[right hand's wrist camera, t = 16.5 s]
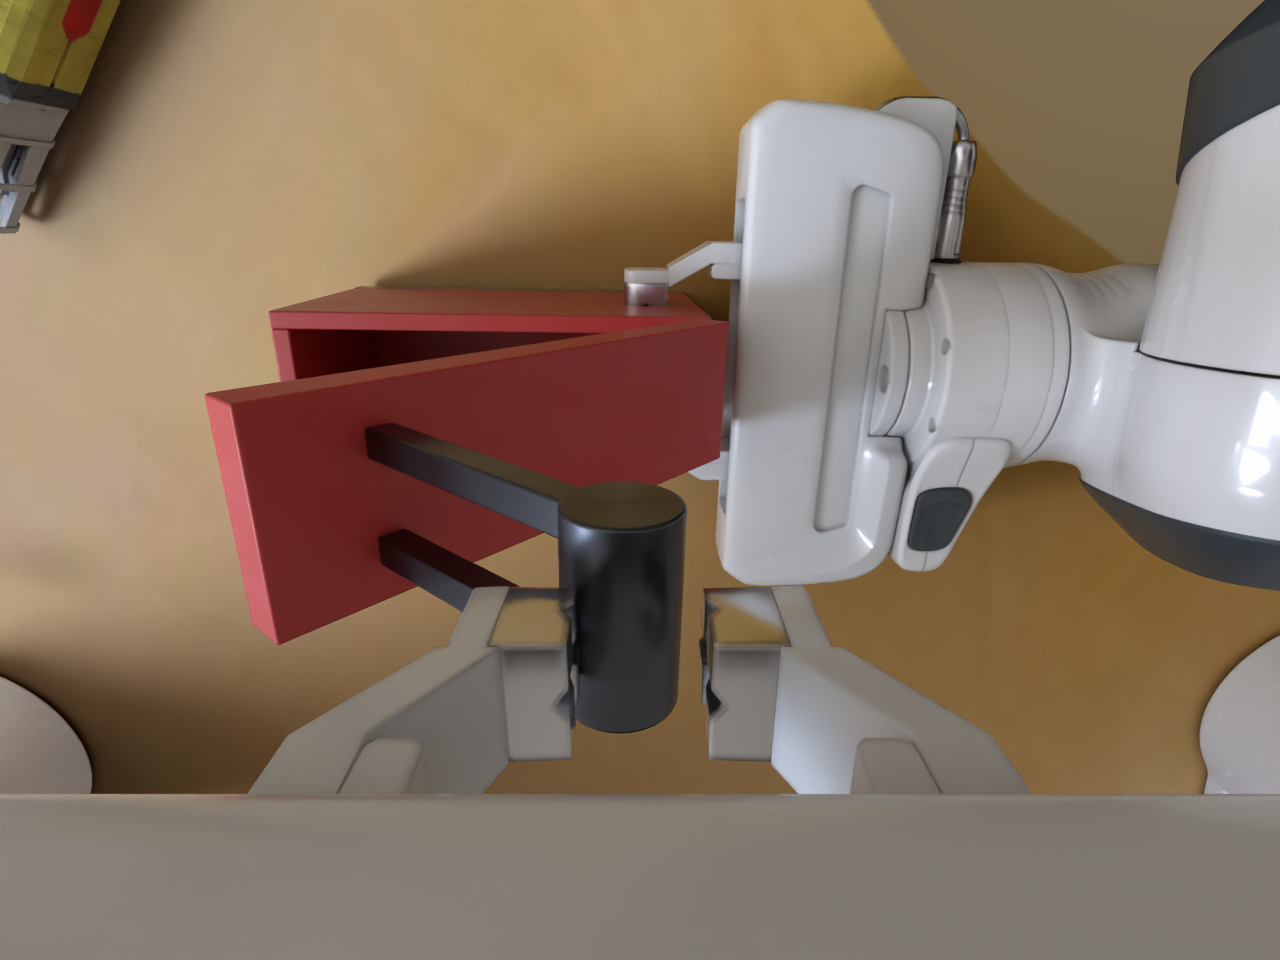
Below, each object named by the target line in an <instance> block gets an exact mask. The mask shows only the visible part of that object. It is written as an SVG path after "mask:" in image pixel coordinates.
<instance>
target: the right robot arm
mask: <svg viewBox="0 0 1280 960" xmlns="http://www.w3.org/2000/svg"><path fill="white" fill-rule="evenodd" d="M700 617H701V624H702V631H703V636H702V638H701V639H700V640H699V684H700V695H701V704H702V705H704V706H705V717H704V727H705V735H706V742H707V749H708V756H709V760H735V761H771V765H772V766H773V767H774V768H775V769H776V770H777V771H778V773H779V774H780V775H781V776H782V777H783V778H784V779H785V780H786V781H787V782H788V783H789V784H790V786H791V787H792V788H793V789H794V790H795V791H796V792H797V793H798V794H482V793H483V792H484V791H485V790H486V789H487V788H488V787H489V786H490V785H491V784H492V782H493V781H494V780H495V779H496V778H497V777H498V776H499V775H500V774H501V773H502V772H503V771H504V770H505V768H506V767H507V766H508V765H509V761H543V760H571V755H572V748H573V741H574V733H575V726H576V723H575V706H576V705H577V704H578V702H579V693H580V679H581V663H580V644H579V643H578V641H577V639H576V637H577V630H578V623H579V608H578V589H577V588H545V587H511V588H510V587H509V586H495V587H477V588H475V589H474V590H473V592H472V594H471V596H470V598H469V600H468V602H467V605H466V607H465V609H464V611H463V613H462V616H461V618H460V620H459V622H458V624H457V626H456V629H455V631H454V633H453V635H452V637H451V640H450V642H449V644H448V646H447V647H436V648H435V649H433V650H431V651H430V652H428V653H426V654H424V655H423V656H421V657H419V658H418V659H416V660H414V661H413V662H411V663H409V664H408V665H406V666H404V667H402V668H401V669H399V670H397V671H396V672H394V673H392V674H391V675H389V676H387V677H386V678H384V679H382V680H380V681H379V682H377V683H375V684H374V685H372V686H370V687H369V688H367V689H365V690H364V691H362V692H360V693H358V694H357V695H355V696H353V697H352V698H350V699H348V700H347V701H345V702H343V703H342V704H340V705H338V706H336V707H335V708H333V709H331V710H330V711H328V712H326V713H325V714H323V715H321V716H319V717H318V718H316V719H314V720H313V721H311V722H309V723H308V724H306V725H304V726H303V727H301V728H299V729H297V730H296V731H294V732H292V733H291V734H289V735H288V736H287V737H286V739H285V740H284V741H283V743H282V744H281V746H280V747H279V749H278V750H277V752H276V753H275V754H274V756H273V757H272V759H271V760H270V762H269V763H268V765H267V766H266V767H265V769H264V770H263V772H262V773H261V775H260V776H259V778H258V779H257V780H256V782H255V783H254V785H253V786H252V788H251V789H250V791H249V792H248V793H247V794H91V789H92V771H91V765H90V761H89V759H88V756H87V753H86V751H85V749H84V747H83V745H82V743H81V741H80V740H79V738H78V737H77V735H76V734H75V732H74V731H73V730H72V728H71V727H70V726H69V725H68V723H67V722H66V721H65V720H64V719H63V718H62V717H61V716H60V715H59V714H58V713H57V712H56V711H55V710H54V709H52V708H51V707H50V706H49V705H48V704H46V703H45V702H44V701H43V700H41V699H40V698H38V697H37V696H36V695H34V694H33V693H31V692H29V691H28V690H26V689H24V688H23V687H21V686H19V685H17V684H15V683H13V682H11V681H9V680H7V679H5V678H3V677H0V960H1280V794H1032V792H1031V791H1030V789H1029V788H1028V787H1027V785H1026V784H1025V782H1024V781H1023V779H1022V778H1021V776H1020V775H1019V773H1018V772H1017V770H1016V769H1015V768H1014V766H1013V765H1012V763H1011V762H1010V760H1009V759H1008V757H1007V756H1006V754H1005V753H1004V751H1003V750H1002V749H1001V747H1000V746H999V744H998V743H997V741H996V740H995V738H994V737H993V736H992V735H990V734H988V733H987V732H985V731H983V730H982V729H980V728H978V727H977V726H975V725H973V724H972V723H970V722H968V721H967V720H965V719H963V718H961V717H960V716H958V715H956V714H955V713H953V712H951V711H950V710H948V709H946V708H945V707H943V706H941V705H940V704H938V703H936V702H935V701H933V700H931V699H929V698H928V697H926V696H924V695H923V694H921V693H919V692H918V691H916V690H914V689H913V688H911V687H909V686H908V685H906V684H904V683H902V682H901V681H899V680H897V679H896V678H894V677H892V676H891V675H889V674H887V673H886V672H884V671H882V670H881V669H879V668H877V667H876V666H874V665H872V664H870V663H869V662H867V661H865V660H864V659H862V658H860V657H859V656H857V655H855V654H854V653H852V652H850V651H849V650H847V649H845V648H843V647H832V644H831V642H830V640H829V638H828V636H827V634H826V631H825V629H824V627H823V625H822V623H821V621H820V619H819V616H818V614H817V612H816V610H815V608H814V606H813V603H812V601H811V599H810V597H809V595H808V593H807V591H806V589H805V588H804V587H802V586H790V587H746V588H705V589H702V593H701V607H700Z"/></svg>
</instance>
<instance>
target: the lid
mask: <svg viewBox="0 0 1280 960" xmlns="http://www.w3.org/2000/svg"><path fill="white" fill-rule="evenodd" d="M728 328H729V323H728V322H725V321H717V320H709V319H696V320H689V321H682V322H676V323H669V324H662V325H656V326H649V327H643V328H636V329H629V330H623V331H616V332H609V333H603V334H596V335H589V336H583V337H576V338H570V339H563V340H556V341H550V342H543V343H536V344H530V345H523V346H517V347H510V348H503V349H497V350H490V351H483V352H477V353H470V354H463V355H457V356H450V357H444V358H437V359H430V360H424V361H417V362H410V363H404V364H397V365H391V366H384V367H377V368H371V369H364V370H357V371H351V372H344V373H338V374H331V375H324V376H318V377H311V378H304V379H298V380H291V381H284V382H278V383H271V384H265V385H258V386H251V387H245V388H238V389H231V390H225V391H218V392H212V393H207V394H205V400H206V405H207V409H208V414H209V419H210V424H211V428H212V433H213V438H214V442H215V447H216V452H217V457H218V461H219V466H220V471H221V476H222V480H223V485H224V490H225V495H226V499H227V504H228V509H229V514H230V518H231V523H232V528H233V533H234V537H235V542H236V547H237V552H238V556H239V561H240V566H241V571H242V575H243V580H244V585H245V590H246V594H247V599H248V604H249V609H250V613H251V618H252V623H253V624H254V625H255V626H256V627H257V628H258V629H259V630H260V631H262V632H263V633H264V634H265V635H266V636H267V637H269V638H270V639H271V640H272V641H273V642H274V643H276V644H277V645H280V644H283V643H285V642H287V641H290V640H292V639H294V638H297V637H299V636H301V635H304V634H306V633H309V632H311V631H313V630H316V629H318V628H320V627H323V626H325V625H327V624H330V623H332V622H335V621H337V620H339V619H342V618H344V617H346V616H349V615H351V614H353V613H356V612H358V611H360V610H363V609H365V608H368V607H370V606H372V605H375V604H377V603H379V602H382V601H384V600H386V599H389V598H391V597H393V596H396V595H398V594H401V593H403V592H405V591H408V590H410V589H412V588H415V587H417V586H419V587H421V588H422V589H424V590H426V591H427V592H429V593H431V594H433V595H434V596H436V597H438V598H439V599H441V600H443V601H445V602H446V603H448V604H450V605H451V606H453V607H455V608H457V609H458V610H460V611H462V612H463V611H464V609H465V607H466V605H467V602H468V600H469V598H470V596H471V594H472V592H473V590H474V589H475V588H477V587H495V586H509V587H510V588H511V587H520V586H518V585H516V584H514V583H512V582H510V581H508V580H506V579H504V578H502V577H500V576H498V575H496V574H494V573H492V572H490V571H488V570H486V569H484V568H482V567H480V566H478V565H476V564H474V562H476V561H478V560H481V559H483V558H486V557H488V556H490V555H493V554H495V553H497V552H500V551H502V550H504V549H507V548H509V547H511V546H514V545H516V544H519V543H521V542H523V541H526V540H528V539H530V538H533V537H535V536H537V535H540V534H542V533H546V534H548V535H551V536H553V537H556V538H558V557H559V588H577V589H578V608H579V623H578V630H577V637H576V639H577V641H578V643H579V644H580V663H581V679H580V693H579V702H578V704H577V705H576V706H575V719H576V720H577V721H578V722H580V723H581V724H583V725H585V726H587V727H589V728H592V729H595V730H598V731H602V732H608V733H632V732H637V731H641V730H645V729H648V728H650V727H652V726H654V725H656V724H658V723H660V722H661V721H662V720H664V719H665V718H666V717H667V716H668V715H669V714H670V713H671V711H672V710H673V708H674V706H675V704H676V701H677V697H678V679H679V659H680V638H681V618H682V598H683V577H684V557H685V537H686V516H687V508H686V505H685V503H684V501H683V499H682V498H681V497H680V496H678V495H677V494H676V493H674V492H672V491H670V490H668V489H665V488H662V487H659V486H655V485H658V484H660V483H662V482H665V481H667V480H670V479H672V478H674V477H677V476H679V475H681V474H684V473H686V472H688V471H691V470H693V469H695V468H698V467H700V466H703V465H705V464H707V463H710V462H712V461H714V460H717V459H719V458H720V449H721V434H722V419H723V404H724V389H725V374H726V359H727V344H728Z"/></svg>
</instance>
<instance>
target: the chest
mask: <svg viewBox="0 0 1280 960" xmlns="http://www.w3.org/2000/svg"><path fill="white" fill-rule="evenodd" d="M269 317H270V323H271V328H273V329H272V335H273V341H274V347H275V353H276V359H277V365H278V371H279V377H280V382H284V381H291V380H298V379H304V378H311V377H318V376H324V375H331V374H338V373H344V372H351V371H357V370H364V369H371V368H377V367H384V366H391V365H397V364H404V363H410V362H417V361H424V360H430V359H437V358H444V357H450V356H457V355H463V354H470V353H477V352H483V351H490V350H497V349H503V348H510V347H517V346H523V345H530V344H536V343H543V342H550V341H556V340H563V339H570V338H576V337H583V336H589V335H596V334H603V333H609V332H616V331H623V330H629V329H636V328H643V327H649V326H656V325H662V324H669V323H676V322H682V321H689V320H696V319H709V320H712V318H711V317H710V316H709V315H708V314H706V313H705V312H704V311H703V310H702V309H701V308H700V307H699V306H697V305H696V304H695V303H694V302H693V301H692V300H691V299H689V298H688V297H687V296H686V295H685V293H684V292H670V291H668V299H667V306H649V305H647V304H644V305H643V306H629V305H624V291H611V290H552V289H493V288H434V287H375V286H360V287H356V288H355V289H351V290H347V291H344V292H340V293H336V294H332V295H328V296H325V297H321V298H317V299H313V300H309V301H306V302H302V303H298V304H294V305H290V306H287V307H283V308H279V309H275V310H271V311H269Z"/></svg>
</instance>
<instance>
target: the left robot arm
mask: <svg viewBox="0 0 1280 960" xmlns="http://www.w3.org/2000/svg"><path fill="white" fill-rule="evenodd" d="M955 127H956V130H957V136H958V141H953V138H954V131H955ZM976 159H977V143H976V142H975V141H969V130H968V124H967V121H966V119H965V117H964V115H963V113H962V112H961V110H960V109H959V108H958V107H957V106H956V105H955V104H954V103H952V102H951V101H949V100H947V99H944V98H940V97H926V96H900V97H895V98H892V99H889V100H887V101H885V102H883V103H882V104H880V105H879V106H878V107H876V108H875V109H874V110H872V109H866V108H861V107H856V106H850V105H844V104H837V103H830V102H821V101H810V100H798V99H780V100H775V101H772V102H769V103H768V104H766V105H765V106H763V107H762V108H761V109H759V110H758V111H757V112H756V113H755V114H754V115H753V116H752V117H751V118H750V119H749V120H748V122H747V123H746V124H745V125H744V126H743V128H742V129H741V132H740V137H739V152H738V168H737V185H736V202H735V219H734V236H733V241H706V242H704V243H702V244H701V245H699V246H697V247H696V248H694V249H692V250H690V251H689V252H687V253H685V254H684V255H682V256H680V257H678V258H677V259H675V260H673V261H672V262H670V263H668V264H667V265H666V268H660V267H630V268H624V305H629V306H643V305H644V304H647V305H649V306H667V299H668V287H671V286H672V285H674V284H676V283H678V282H680V281H681V280H683V279H685V278H687V277H688V276H690V275H692V274H694V273H696V272H697V271H699V270H701V269H703V268H704V267H706V272H707V274H708V275H709V276H711V277H712V278H714V279H731V287H730V304H729V321H728V323H729V328H728V344H727V359H726V374H725V389H724V405H723V422H722V437H721V449H720V458H719V459H717V460H714V461H712V462H710V463H707V464H705V465H703V466H700V467H698V468H695V469H693V470H691V471H688V473H690V474H691V475H693V476H695V477H697V478H698V479H700V480H719V490H718V507H717V524H716V545H717V549H718V554H719V557H720V561H721V564H722V567H723V568H724V570H725V571H726V572H727V573H729V574H730V575H731V576H733V577H734V578H736V579H737V580H739V581H740V582H742V583H744V584H748V585H757V586H782V585H804V584H817V583H827V582H836V581H843V580H849V579H853V578H857V577H860V576H862V575H865V574H867V573H869V572H870V571H872V570H874V569H875V568H876V567H878V566H879V565H880V564H881V563H882V562H883V561H884V559H885V558H886V556H887V555H888V556H889V557H890V558H891V559H892V560H893V561H894V562H895V563H896V564H898V565H899V566H900V567H901V568H902V569H905V570H908V571H918V572H921V571H922V572H923V571H931V570H934V569H936V568H938V567H939V566H940V565H942V563H943V562H944V561H945V560H946V558H947V557H948V555H949V553H950V552H951V550H952V548H953V546H954V544H955V543H956V541H957V539H958V537H959V535H960V534H961V532H962V530H963V528H964V526H965V525H966V523H967V521H968V520H969V518H970V516H971V515H972V513H973V511H974V510H975V508H976V506H977V505H978V503H979V502H980V500H981V498H982V497H983V495H984V494H985V492H986V491H987V489H988V488H989V486H990V485H991V484H992V482H993V481H994V480H995V478H996V477H997V475H998V474H999V473H1000V471H1001V470H1002V469H1003V468H1007V467H1013V466H1018V465H1022V464H1027V463H1032V462H1037V461H1047V460H1050V461H1059V462H1064V463H1068V464H1071V465H1074V466H1076V467H1077V468H1078V469H1079V471H1080V473H1081V477H1080V478H1079V480H1080V482H1081V483H1082V485H1083V486H1084V488H1085V489H1086V490H1087V492H1088V493H1089V494H1090V495H1091V496H1092V497H1093V498H1094V500H1095V501H1096V502H1097V503H1098V504H1099V505H1100V506H1101V507H1102V508H1103V509H1104V510H1105V511H1106V512H1107V513H1108V514H1109V515H1110V516H1111V517H1112V518H1113V519H1114V520H1115V521H1116V522H1117V523H1118V524H1119V525H1120V526H1121V527H1122V528H1123V529H1124V530H1125V531H1126V532H1127V533H1128V534H1129V535H1130V536H1131V537H1132V538H1133V539H1134V540H1135V541H1136V542H1137V543H1138V544H1140V545H1141V546H1142V547H1144V548H1145V549H1146V550H1148V551H1149V552H1151V553H1152V554H1154V555H1156V556H1157V557H1159V558H1161V559H1163V560H1165V561H1167V562H1169V563H1171V564H1173V565H1175V566H1178V567H1180V568H1182V569H1184V570H1187V571H1189V572H1192V573H1194V574H1197V575H1200V576H1203V577H1207V578H1210V579H1214V580H1218V581H1222V582H1227V583H1232V584H1237V585H1242V586H1249V587H1255V588H1262V589H1270V590H1279V591H1280V0H1265V1H1264V2H1262V3H1261V4H1260V5H1259V6H1258V7H1257V8H1256V9H1255V10H1254V11H1253V12H1252V13H1250V14H1249V15H1248V16H1247V17H1246V18H1245V19H1244V20H1243V21H1242V22H1241V23H1240V24H1239V25H1238V26H1237V27H1236V28H1235V29H1234V30H1233V31H1232V32H1231V33H1230V34H1229V35H1228V36H1227V37H1226V38H1225V39H1224V40H1223V41H1222V42H1221V43H1220V44H1219V45H1218V46H1217V47H1216V48H1215V49H1214V50H1213V51H1212V52H1211V53H1210V54H1209V55H1208V56H1207V58H1206V59H1205V60H1204V61H1203V62H1202V63H1201V64H1200V65H1199V66H1198V67H1197V68H1196V69H1195V71H1194V72H1193V74H1192V76H1191V78H1190V83H1189V89H1188V96H1187V103H1186V110H1185V117H1184V124H1183V131H1182V137H1181V144H1180V151H1179V158H1178V165H1177V172H1176V183H1177V184H1178V186H1179V187H1178V191H1177V195H1176V199H1175V203H1174V207H1173V211H1172V215H1171V220H1170V224H1169V228H1168V232H1167V236H1166V240H1165V244H1164V249H1163V253H1162V257H1161V261H1160V264H1119V265H1113V266H1107V267H1103V268H1100V269H1097V270H1093V271H1089V272H1083V273H1071V272H1065V271H1062V270H1059V269H1056V268H1054V267H1051V266H1047V265H1043V264H1037V263H1012V262H961V261H959V259H960V253H961V247H962V240H963V235H964V229H965V222H966V212H967V206H966V204H967V199H966V197H968V191H967V190H969V185H970V179H971V178H973V174H974V171H975V166H976ZM930 259H934V260H931V262H930ZM1199 740H1200V749H1201V753H1202V756H1203V759H1204V761H1205V764H1206V767H1207V771H1208V777H1207V781H1206V785H1205V790H1204V794H1280V635H1279V636H1277V637H1275V638H1273V639H1272V640H1270V641H1268V642H1267V643H1265V644H1264V645H1262V646H1261V647H1259V648H1258V649H1256V650H1255V651H1254V652H1252V653H1251V654H1250V655H1248V656H1247V657H1246V658H1245V659H1244V660H1242V661H1241V662H1240V663H1239V664H1238V665H1237V666H1236V667H1235V668H1234V669H1233V670H1232V671H1231V672H1230V673H1229V674H1228V675H1227V676H1226V678H1225V679H1224V680H1223V681H1222V683H1221V684H1220V685H1219V687H1218V688H1217V689H1216V691H1215V692H1214V694H1213V696H1212V697H1211V699H1210V701H1209V703H1208V705H1207V707H1206V709H1205V712H1204V715H1203V718H1202V722H1201V726H1200V735H1199Z"/></svg>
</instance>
